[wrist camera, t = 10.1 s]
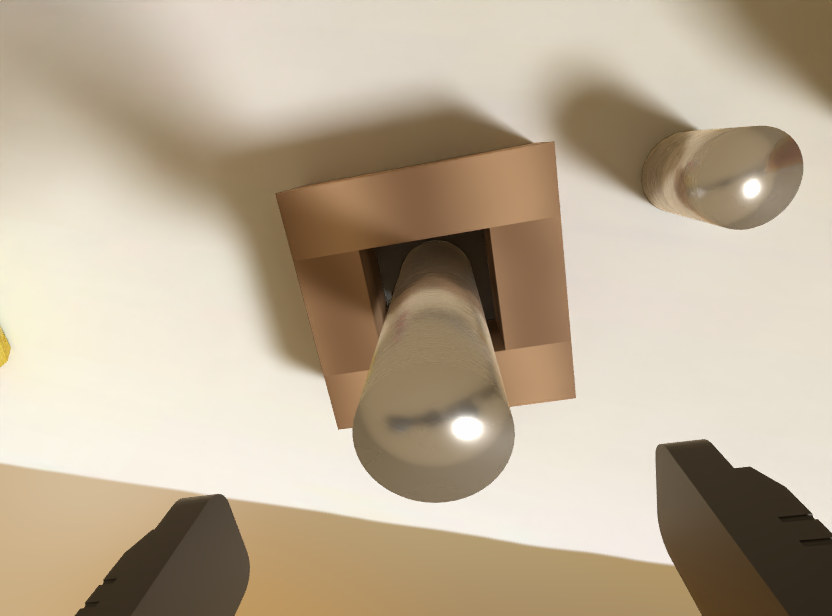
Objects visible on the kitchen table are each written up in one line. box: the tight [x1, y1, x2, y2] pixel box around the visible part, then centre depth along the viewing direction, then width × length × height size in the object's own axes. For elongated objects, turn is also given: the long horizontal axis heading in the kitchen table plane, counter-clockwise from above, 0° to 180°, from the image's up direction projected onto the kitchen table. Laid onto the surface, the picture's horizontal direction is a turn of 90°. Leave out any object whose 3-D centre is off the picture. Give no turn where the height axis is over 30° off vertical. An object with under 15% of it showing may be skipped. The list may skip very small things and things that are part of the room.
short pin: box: [642, 126, 803, 230], centre depth 19 cm, size 4×4×5 cm
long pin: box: [353, 240, 515, 503], centre depth 17 cm, size 4×4×14 cm
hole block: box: [276, 142, 576, 430], centre depth 22 cm, size 11×11×4 cm
